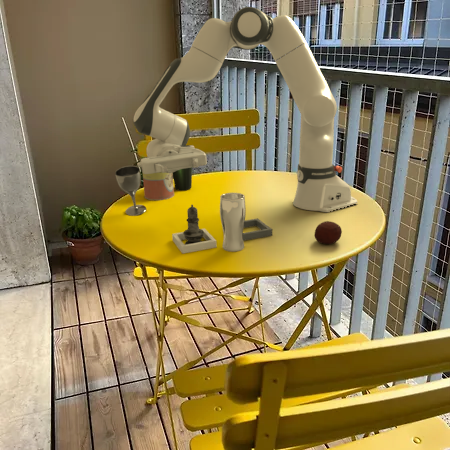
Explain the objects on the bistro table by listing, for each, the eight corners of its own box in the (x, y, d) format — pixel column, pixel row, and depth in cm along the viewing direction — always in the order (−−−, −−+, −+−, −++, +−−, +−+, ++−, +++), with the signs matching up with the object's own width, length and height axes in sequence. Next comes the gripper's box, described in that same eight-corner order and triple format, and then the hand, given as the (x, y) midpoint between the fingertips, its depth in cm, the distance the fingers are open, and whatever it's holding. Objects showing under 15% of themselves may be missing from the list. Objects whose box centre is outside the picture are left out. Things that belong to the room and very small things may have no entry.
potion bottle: (182, 192, 176) (179, 146, 169) (168, 188, 181) (165, 144, 174) (197, 187, 181) (195, 143, 175) (183, 184, 186) (181, 140, 180)
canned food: (165, 201, 166) (162, 169, 162) (138, 198, 170) (135, 167, 166) (179, 192, 176) (177, 162, 172) (154, 190, 180) (151, 160, 176)
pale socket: (204, 234, 136) (204, 228, 135) (216, 247, 127) (216, 240, 126) (172, 240, 133) (172, 233, 132) (182, 253, 124) (182, 246, 123)
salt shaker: (205, 239, 132) (203, 200, 128) (202, 248, 127) (201, 207, 122) (185, 239, 133) (183, 200, 128) (182, 247, 127) (179, 207, 123)
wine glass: (129, 218, 151) (120, 178, 143) (121, 209, 157) (111, 170, 149) (151, 210, 154) (143, 171, 146) (142, 201, 160) (133, 163, 152)
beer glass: (220, 242, 130) (218, 193, 124) (244, 241, 130) (243, 191, 125) (222, 253, 124) (220, 200, 118) (247, 251, 124) (247, 199, 118)
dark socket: (257, 224, 143) (257, 218, 142) (272, 235, 134) (272, 229, 133) (228, 229, 139) (228, 223, 139) (241, 241, 131) (241, 234, 130)
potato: (347, 243, 128) (349, 223, 126) (326, 250, 124) (327, 230, 121) (329, 235, 134) (330, 216, 131) (307, 241, 130) (308, 222, 127)
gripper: (134, 153, 140) (144, 161, 127) (197, 144, 146) (212, 152, 134) (137, 173, 142) (147, 183, 130) (198, 163, 149) (213, 172, 136)
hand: (180, 167), depth 132 cm, fingers open, 8 cm apart
